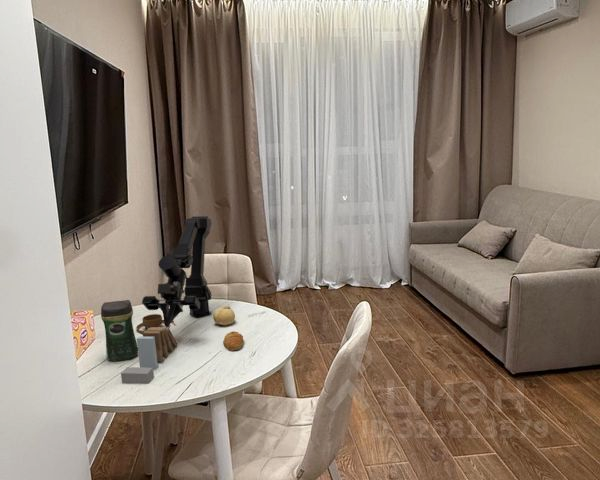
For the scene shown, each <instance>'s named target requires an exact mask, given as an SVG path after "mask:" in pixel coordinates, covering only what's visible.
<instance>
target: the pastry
mask: <svg viewBox="0 0 600 480" xmlns="http://www.w3.org/2000/svg"><path fill="white" fill-rule="evenodd" d="M222 343H223V345H224V347H225V349H227V350H228V351H230V352H231V351H232V352H233V351H236V350H237V351H239V350H240V349H242V347H243V346H244V343H245V340H244V335H242V334H241V333H239V331H230V332H228V333H226V335H225V336H224V338H223V341H222Z"/></svg>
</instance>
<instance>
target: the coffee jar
mask: <svg viewBox="0 0 600 480" xmlns="http://www.w3.org/2000/svg"><path fill="white" fill-rule="evenodd" d="M133 314H134V309H133V306H132V302H131V300H130V299H125V300H114V301H107V302H106V301H105V302H103V303H102V305H101V308H100V318H101V321H102V322H103V325H104V332H105V351H106V358H107V360H108V361H110V362H115V361H123V360H124V361H125V360H130V359H133V358H135V357H136V356H137V355H138V346H137V337H136V335H135V331H134V326H133Z"/></svg>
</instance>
